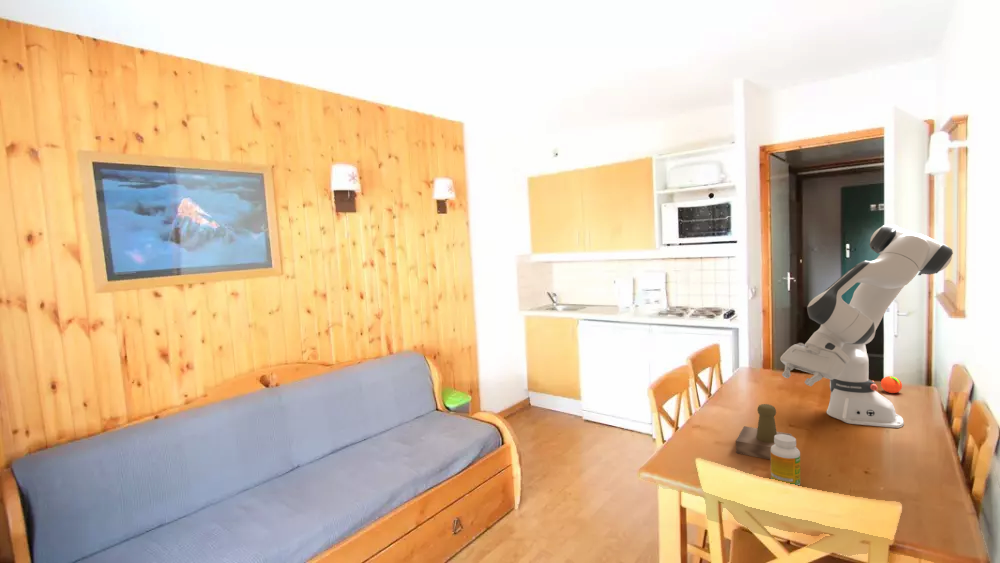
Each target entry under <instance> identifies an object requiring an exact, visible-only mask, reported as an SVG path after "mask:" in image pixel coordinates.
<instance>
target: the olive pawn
mask: <svg viewBox="0 0 1000 563" xmlns="http://www.w3.org/2000/svg"><path fill="white" fill-rule="evenodd" d="M757 414H758V423H757V428H758V429H757V436H756V438H757V439H758V440H760V441H763V442H768V443H774V436H775V435H777V432H778V431H777V428H776V426H777V425H776V421H775V416H776V414H777V409H776V407H775V406H773V405H771V404H767V403H763V404H762V403H761V404H758V406H757Z"/></svg>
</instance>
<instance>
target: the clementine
mask: <svg viewBox="0 0 1000 563" xmlns="http://www.w3.org/2000/svg"><path fill="white" fill-rule="evenodd" d="M880 386H881V388H882V389H883V390H884V391H885V392H886V393H889V394H896V393H899V392H900V391H901V390H902V388H903V383H902V381H901V380H900V379H899V378H897V377H896V376H892V375H890V376H888V375H887V376H885V377H883V378H882V379H881V380H880Z"/></svg>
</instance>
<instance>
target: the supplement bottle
mask: <svg viewBox="0 0 1000 563" xmlns="http://www.w3.org/2000/svg"><path fill="white" fill-rule="evenodd" d="M774 443H775V444H774V445H773V446H772V447H771V460H770V480H771V479H775V480H778V481H782V482H786V483H790V484H795V485H799V486H800V485H801V451H800V450H799V448H798V447H797V438H795V436H793V435H792V436H790V435H785V434H777V435H775V436H774Z"/></svg>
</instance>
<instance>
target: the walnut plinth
mask: <svg viewBox="0 0 1000 563" xmlns="http://www.w3.org/2000/svg"><path fill="white" fill-rule="evenodd" d="M757 429H758V427H752V426H743V427H742V429H741V431H740V432H739V434H738V436H737V438H736V440H735V453H736V454H741V455H745V456H750V457H754V458H755V457H756V458H761V459H766V460H770V461H771V447H772V446H773V445H774V444H775V443H768V442H763V441H760V440H758V439H757V438H756V436H757ZM777 434H785V435H790V436H793V435H792V433H789V432H781V431H777Z"/></svg>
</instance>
